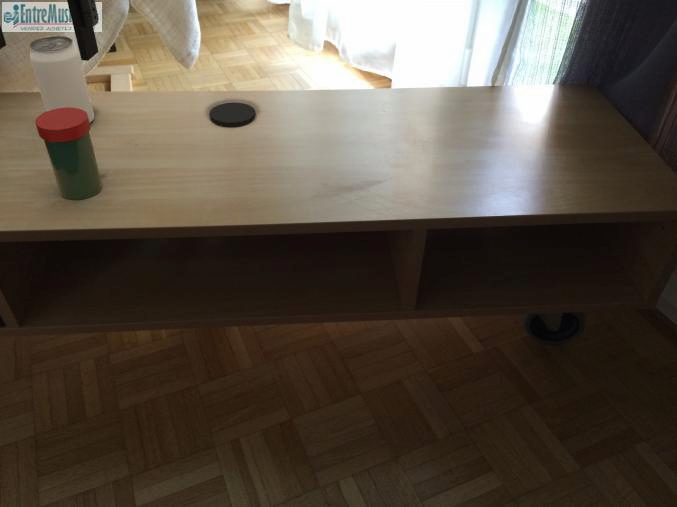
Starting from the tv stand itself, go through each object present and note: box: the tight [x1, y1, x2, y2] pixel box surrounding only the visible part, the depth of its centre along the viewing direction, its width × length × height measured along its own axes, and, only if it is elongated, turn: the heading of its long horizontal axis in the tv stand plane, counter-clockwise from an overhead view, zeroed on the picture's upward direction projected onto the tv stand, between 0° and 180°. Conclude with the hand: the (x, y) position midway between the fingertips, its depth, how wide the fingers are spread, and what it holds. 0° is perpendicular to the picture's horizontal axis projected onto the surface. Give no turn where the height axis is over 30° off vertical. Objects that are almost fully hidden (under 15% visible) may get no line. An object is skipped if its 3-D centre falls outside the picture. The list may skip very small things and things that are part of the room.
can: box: [29, 35, 95, 124], centre depth 89 cm, size 6×6×12 cm
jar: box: [43, 131, 103, 201], centre depth 75 cm, size 5×5×9 cm
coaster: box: [209, 101, 256, 128], centre depth 95 cm, size 7×7×1 cm
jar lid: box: [34, 107, 91, 142], centre depth 73 cm, size 6×6×2 cm
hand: (43, 52), depth 67 cm, fingers open, 10 cm apart
